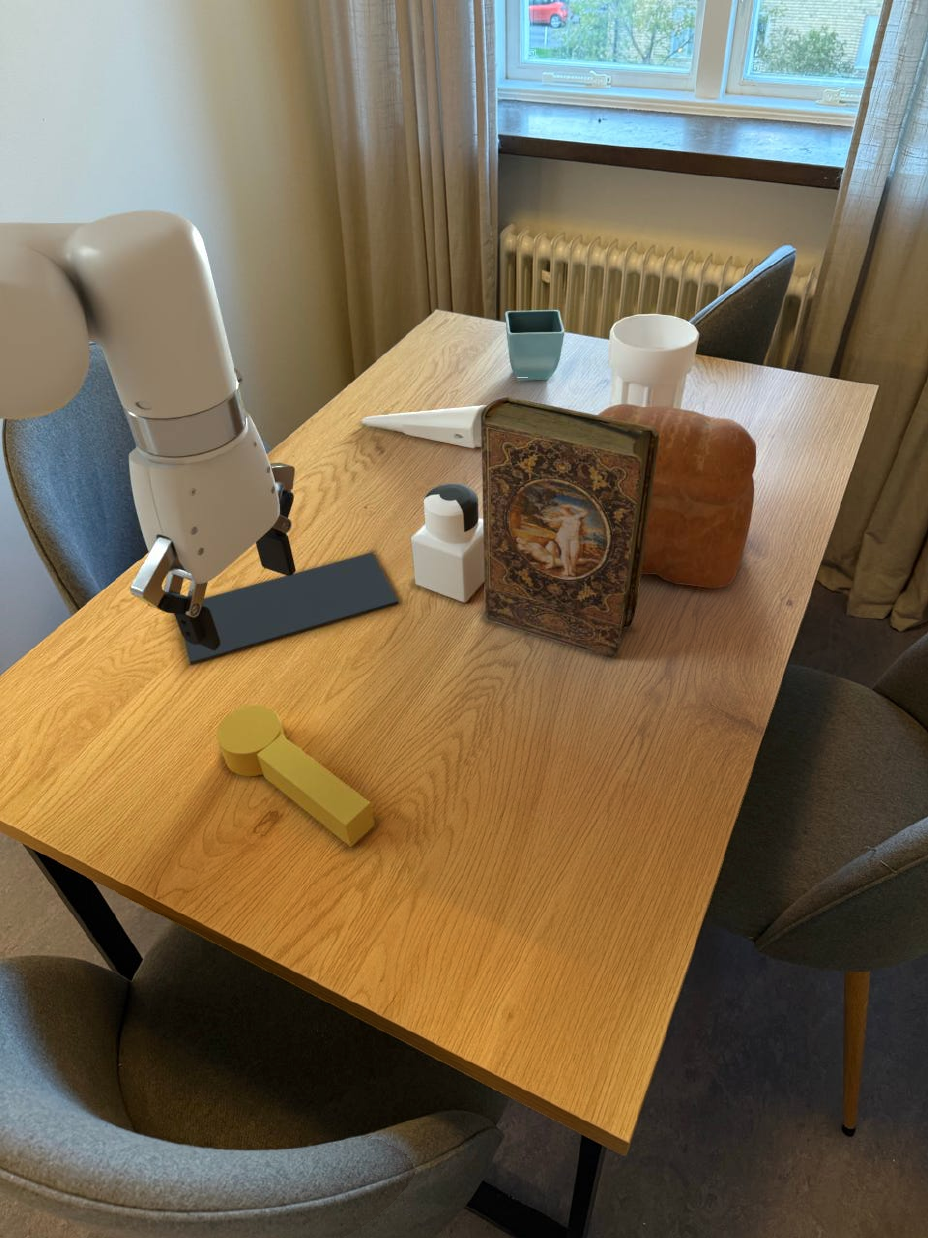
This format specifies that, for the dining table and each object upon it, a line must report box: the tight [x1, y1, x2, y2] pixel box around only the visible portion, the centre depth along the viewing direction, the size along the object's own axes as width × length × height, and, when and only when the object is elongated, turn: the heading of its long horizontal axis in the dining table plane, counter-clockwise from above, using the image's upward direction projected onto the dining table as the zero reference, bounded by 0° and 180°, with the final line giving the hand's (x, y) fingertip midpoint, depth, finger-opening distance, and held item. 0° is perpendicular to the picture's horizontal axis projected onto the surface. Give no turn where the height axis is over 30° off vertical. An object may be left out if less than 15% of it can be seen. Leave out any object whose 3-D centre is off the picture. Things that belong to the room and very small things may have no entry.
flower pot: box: [504, 309, 565, 382], centre depth 134 cm, size 9×9×9 cm
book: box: [481, 396, 659, 658], centre depth 85 cm, size 16×6×25 cm, turn 64°
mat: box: [183, 552, 399, 665], centre depth 97 cm, size 24×10×1 cm, turn 112°
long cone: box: [361, 404, 487, 449], centre depth 124 cm, size 6×6×19 cm
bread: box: [597, 404, 757, 589], centre depth 97 cm, size 18×21×17 cm
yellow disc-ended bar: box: [216, 704, 376, 848], centre depth 77 cm, size 18×6×4 cm, turn 49°
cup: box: [607, 313, 700, 409], centre depth 113 cm, size 11×11×17 cm
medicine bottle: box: [410, 482, 485, 603], centre depth 96 cm, size 7×7×12 cm
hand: (243, 604), depth 68 cm, fingers open, 9 cm apart
